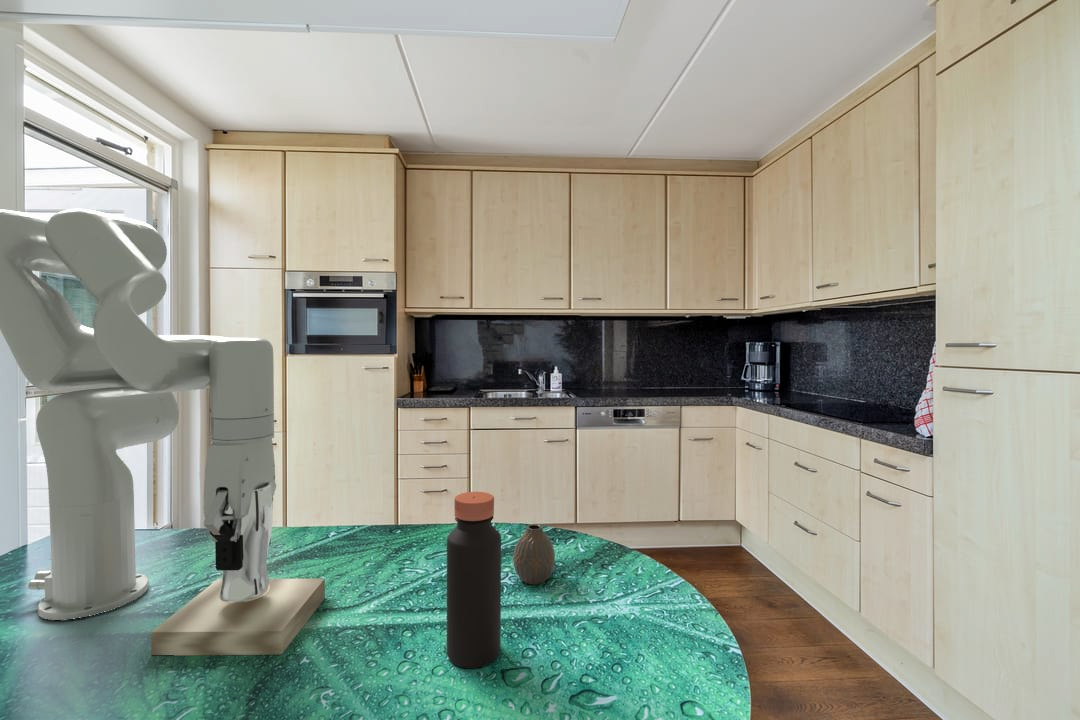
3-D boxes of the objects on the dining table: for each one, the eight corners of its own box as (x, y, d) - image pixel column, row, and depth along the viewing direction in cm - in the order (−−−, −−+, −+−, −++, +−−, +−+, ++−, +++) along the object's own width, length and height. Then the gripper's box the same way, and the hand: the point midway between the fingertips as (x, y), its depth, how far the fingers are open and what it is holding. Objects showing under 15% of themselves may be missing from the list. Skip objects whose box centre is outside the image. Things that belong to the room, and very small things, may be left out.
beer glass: (247, 608, 67) (246, 494, 66) (202, 602, 68) (201, 490, 68) (284, 583, 74) (284, 480, 73) (242, 578, 75) (241, 477, 75)
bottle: (486, 675, 61) (486, 509, 60) (436, 662, 63) (436, 502, 62) (509, 643, 67) (510, 492, 66) (463, 632, 70) (463, 486, 69)
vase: (506, 583, 84) (506, 530, 83) (523, 566, 90) (523, 517, 90) (545, 592, 81) (546, 537, 81) (560, 573, 87) (561, 522, 87)
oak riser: (151, 655, 64) (150, 632, 64) (218, 598, 78) (217, 579, 78) (281, 654, 65) (281, 631, 64) (324, 597, 79) (324, 578, 78)
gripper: (249, 418, 79) (250, 533, 79) (171, 441, 61) (174, 588, 62) (298, 418, 79) (299, 533, 80) (235, 441, 62) (237, 588, 62)
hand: (244, 556), depth 71 cm, fingers closed on beer glass, 6 cm apart
